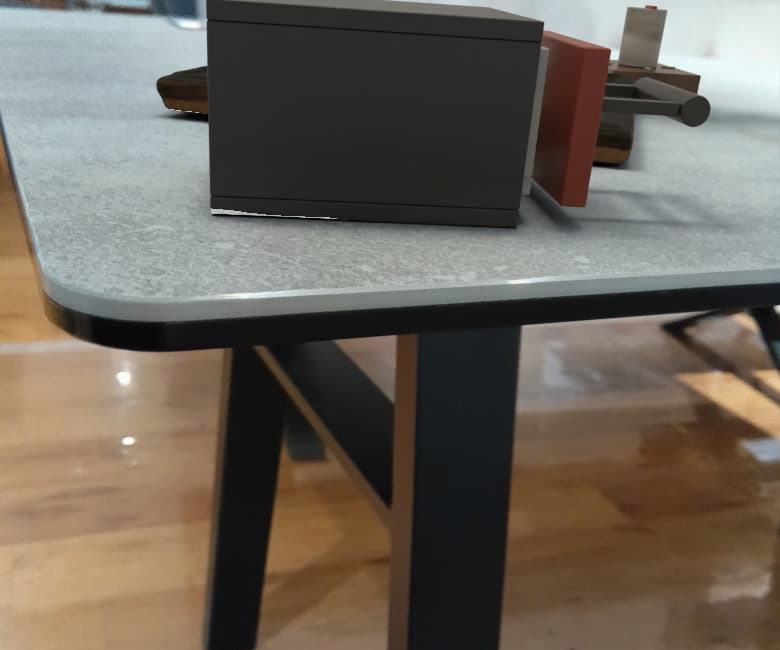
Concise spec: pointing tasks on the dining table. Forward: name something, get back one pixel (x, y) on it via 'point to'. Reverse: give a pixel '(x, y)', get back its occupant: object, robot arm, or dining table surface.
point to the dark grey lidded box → (370, 109)
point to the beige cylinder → (642, 36)
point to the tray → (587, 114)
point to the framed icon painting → (611, 143)
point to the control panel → (659, 75)
